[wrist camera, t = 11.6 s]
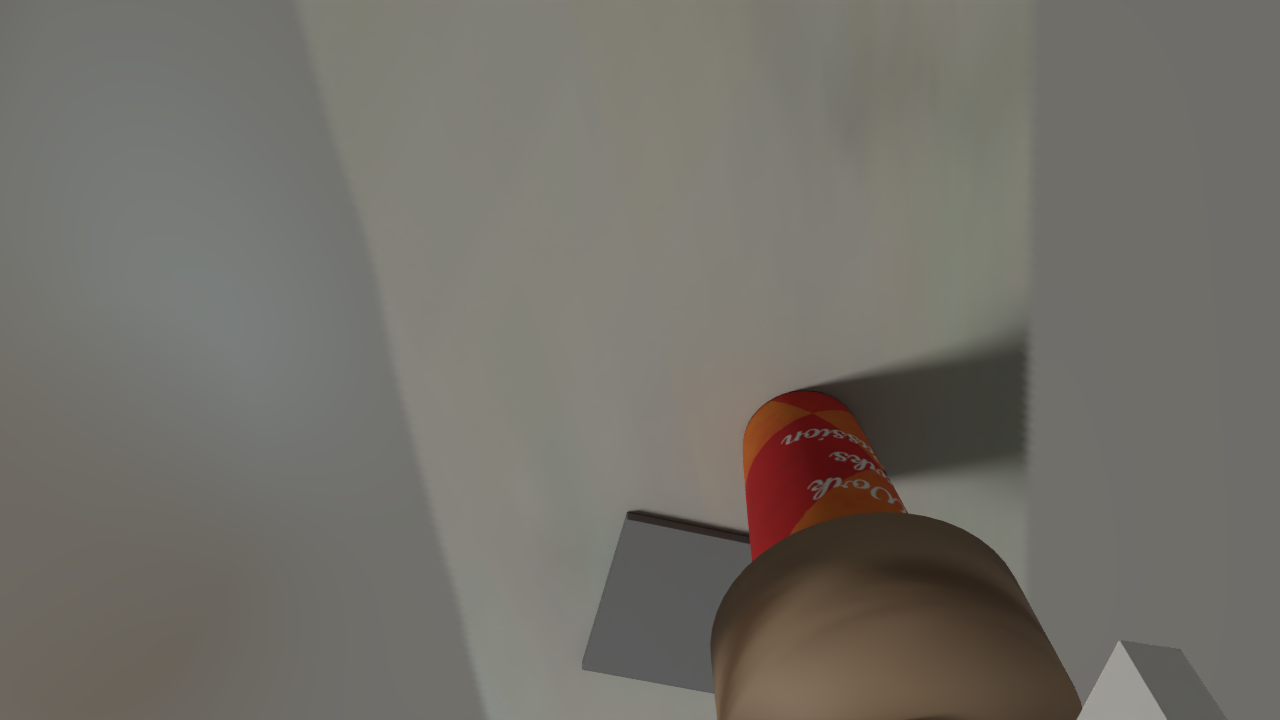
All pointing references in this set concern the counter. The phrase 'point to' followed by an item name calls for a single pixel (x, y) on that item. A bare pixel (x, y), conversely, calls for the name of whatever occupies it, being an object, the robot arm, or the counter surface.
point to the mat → (664, 602)
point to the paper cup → (808, 468)
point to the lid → (883, 630)
